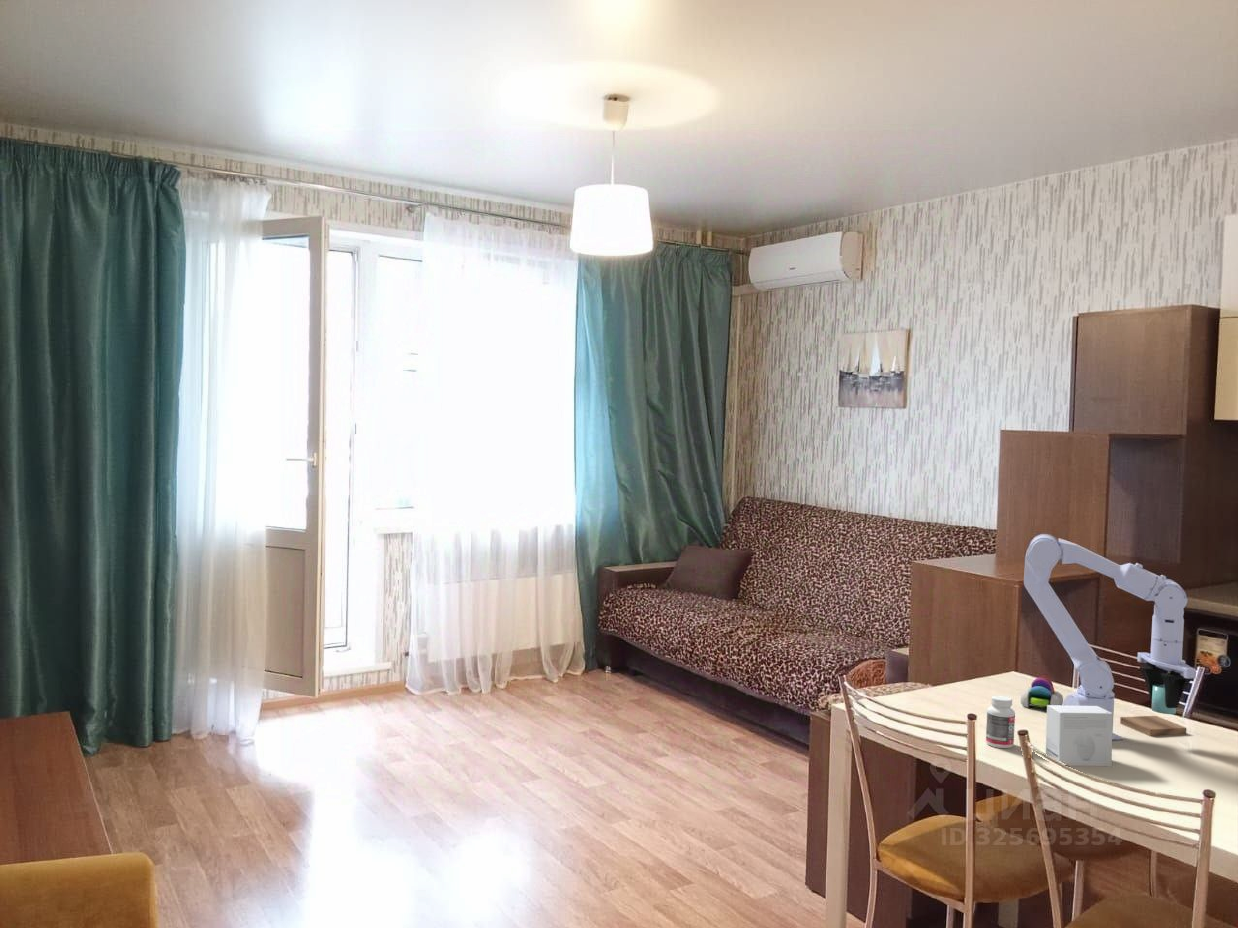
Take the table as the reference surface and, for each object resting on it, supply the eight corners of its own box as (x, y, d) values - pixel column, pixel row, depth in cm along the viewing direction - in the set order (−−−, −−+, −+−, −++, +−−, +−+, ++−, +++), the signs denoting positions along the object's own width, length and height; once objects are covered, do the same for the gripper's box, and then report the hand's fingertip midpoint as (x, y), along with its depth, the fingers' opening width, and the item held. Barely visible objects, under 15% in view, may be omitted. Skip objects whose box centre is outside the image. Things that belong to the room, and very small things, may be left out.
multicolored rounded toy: (1064, 706, 234) (1065, 676, 233) (1057, 716, 226) (1059, 684, 225) (1026, 700, 238) (1027, 670, 238) (1018, 709, 230) (1019, 678, 230)
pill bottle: (1014, 750, 199) (1016, 702, 199) (986, 747, 201) (988, 699, 201) (1012, 742, 205) (1014, 695, 204) (985, 739, 206) (986, 692, 206)
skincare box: (1095, 756, 197) (1097, 704, 197) (1112, 767, 191) (1114, 713, 191) (1043, 755, 197) (1046, 703, 197) (1058, 766, 191) (1061, 712, 190)
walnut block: (1149, 740, 210) (1150, 729, 210) (1120, 727, 219) (1120, 717, 219) (1185, 738, 212) (1186, 727, 212) (1155, 726, 221) (1155, 715, 221)
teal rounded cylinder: (1161, 714, 203) (1162, 690, 202) (1146, 708, 207) (1147, 684, 207) (1180, 713, 203) (1181, 689, 203) (1165, 707, 208) (1166, 684, 207)
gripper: (1210, 647, 198) (1207, 713, 199) (1159, 631, 212) (1156, 694, 213) (1179, 647, 197) (1175, 714, 197) (1129, 632, 211) (1126, 694, 212)
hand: (1163, 704), depth 205 cm, fingers closed on teal rounded cylinder, 4 cm apart
